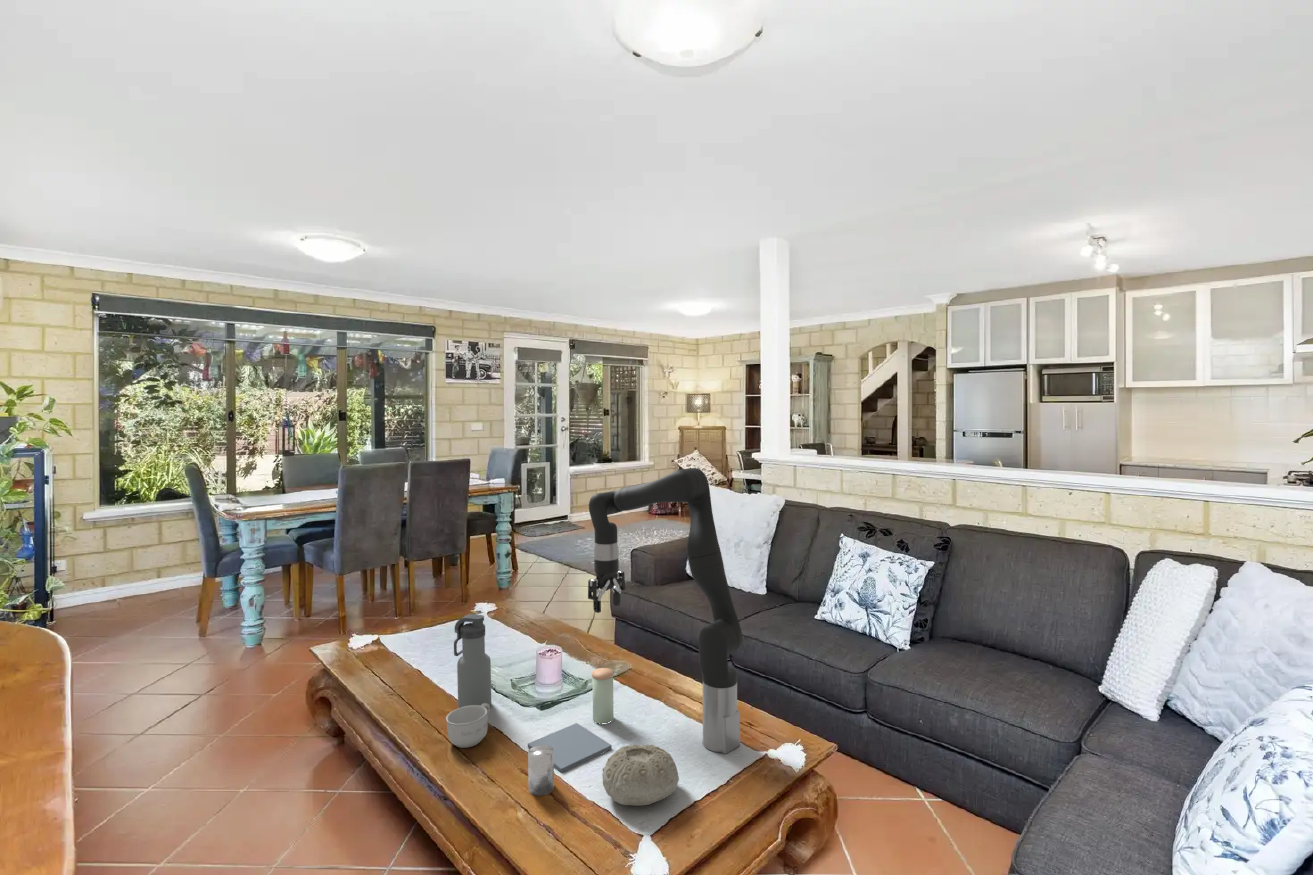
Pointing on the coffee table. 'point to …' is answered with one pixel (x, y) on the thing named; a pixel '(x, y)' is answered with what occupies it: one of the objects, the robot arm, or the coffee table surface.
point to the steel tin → (541, 770)
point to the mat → (572, 746)
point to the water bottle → (472, 662)
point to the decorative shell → (640, 775)
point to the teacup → (468, 725)
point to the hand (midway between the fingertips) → (607, 608)
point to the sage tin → (603, 695)
